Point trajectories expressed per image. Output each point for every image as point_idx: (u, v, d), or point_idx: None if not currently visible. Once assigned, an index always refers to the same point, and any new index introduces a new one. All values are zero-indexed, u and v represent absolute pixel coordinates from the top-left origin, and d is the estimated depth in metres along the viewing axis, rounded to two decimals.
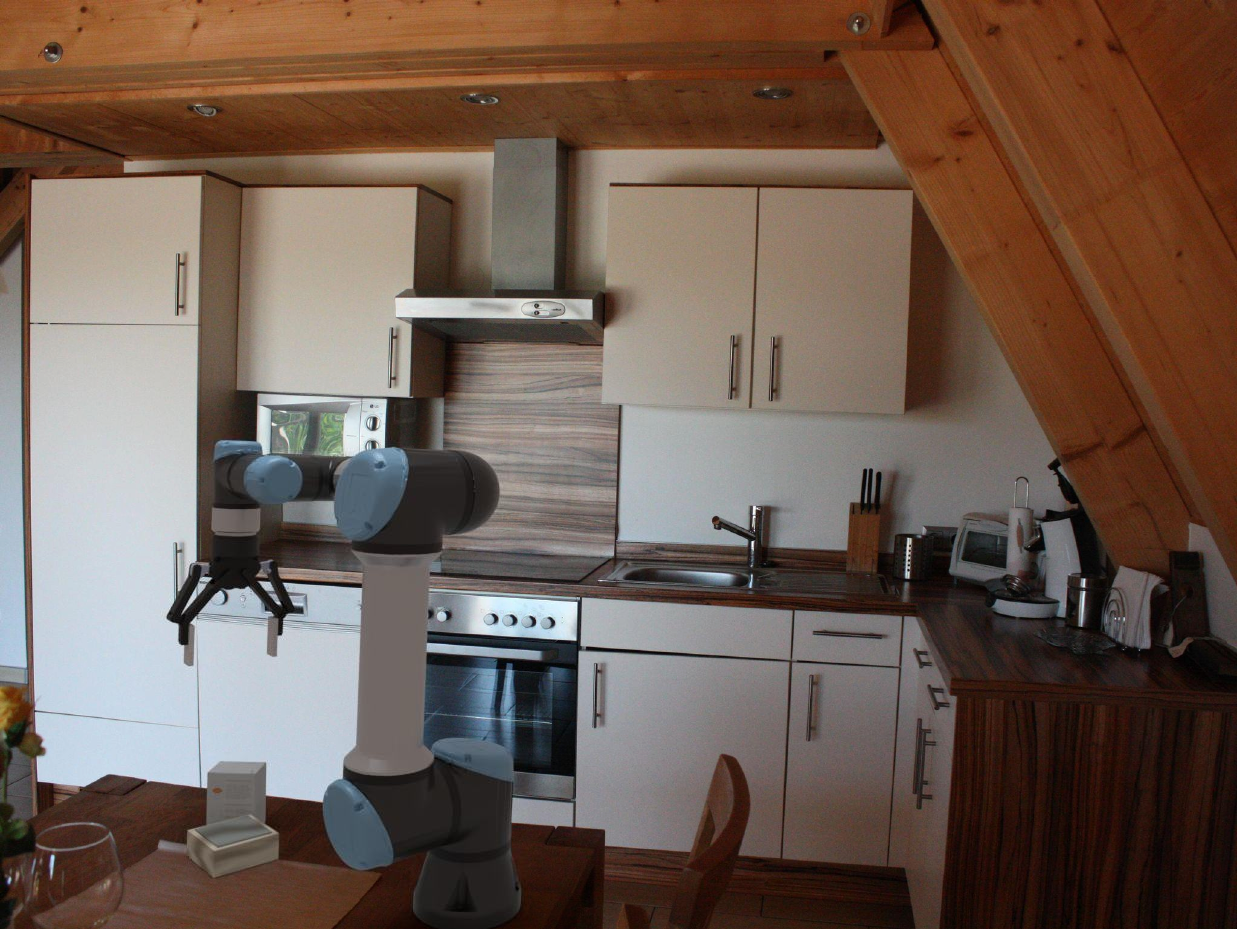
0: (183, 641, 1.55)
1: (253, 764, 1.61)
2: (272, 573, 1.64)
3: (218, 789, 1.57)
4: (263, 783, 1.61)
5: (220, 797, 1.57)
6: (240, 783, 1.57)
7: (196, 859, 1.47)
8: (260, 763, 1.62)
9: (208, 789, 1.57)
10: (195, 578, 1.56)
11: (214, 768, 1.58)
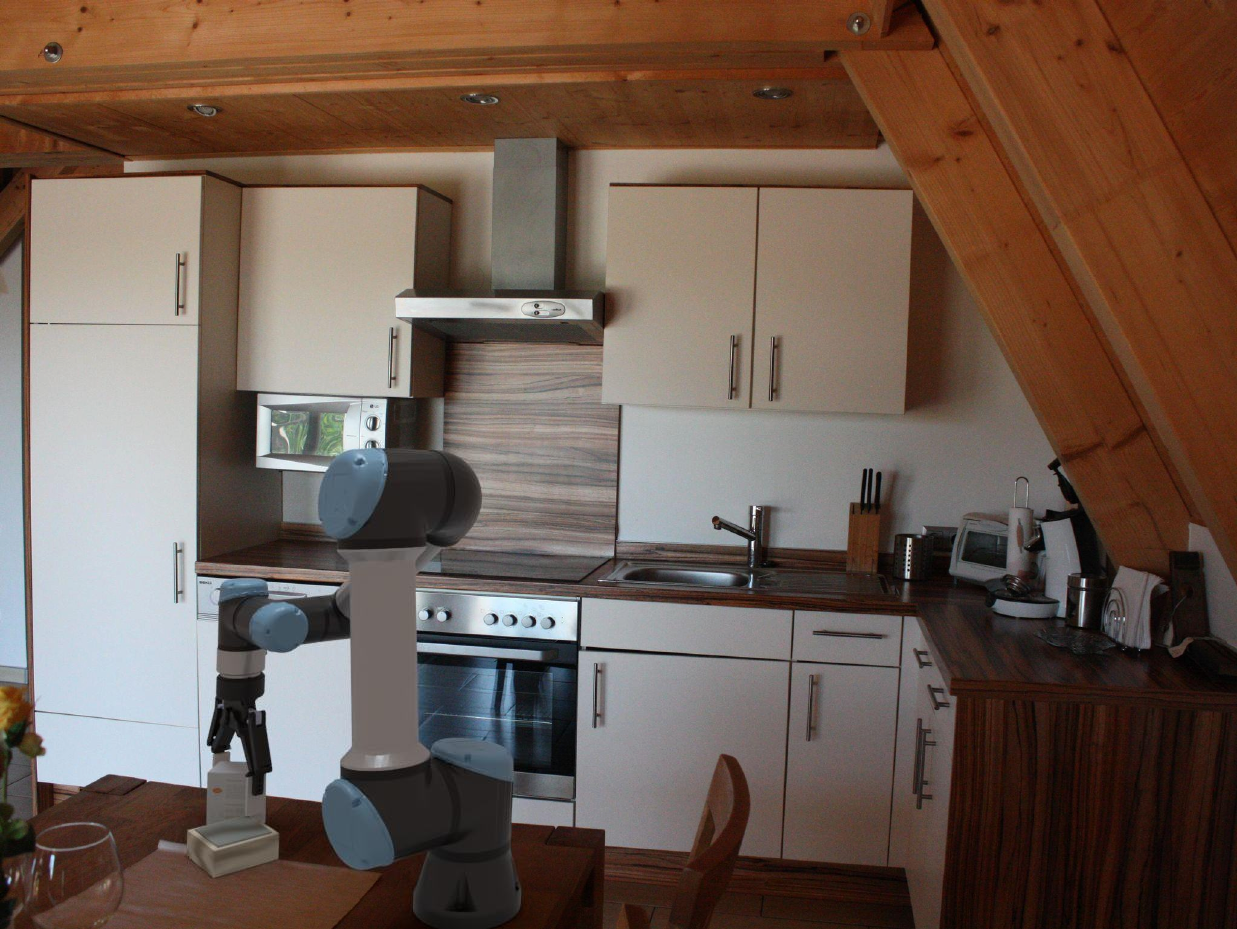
0: None
1: None
2: (248, 725, 1.54)
3: (218, 789, 1.57)
4: None
5: (220, 797, 1.57)
6: (240, 783, 1.57)
7: (196, 859, 1.47)
8: None
9: (208, 789, 1.57)
10: (215, 708, 1.63)
11: (214, 768, 1.58)
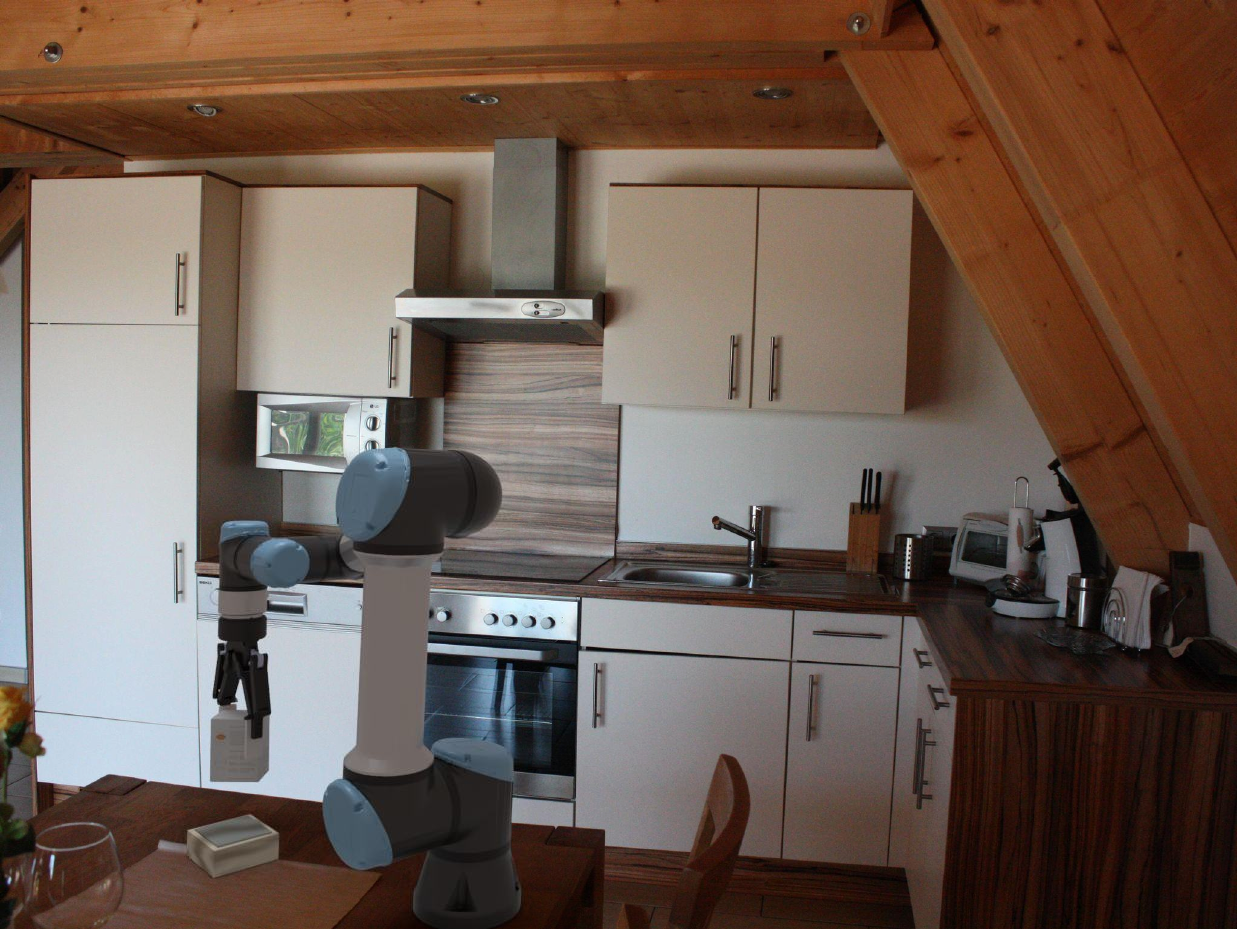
0: None
1: None
2: (250, 667, 1.54)
3: (222, 735, 1.56)
4: (267, 730, 1.61)
5: (224, 743, 1.56)
6: (244, 729, 1.57)
7: (196, 859, 1.47)
8: None
9: (212, 736, 1.56)
10: (218, 656, 1.63)
11: (217, 715, 1.58)
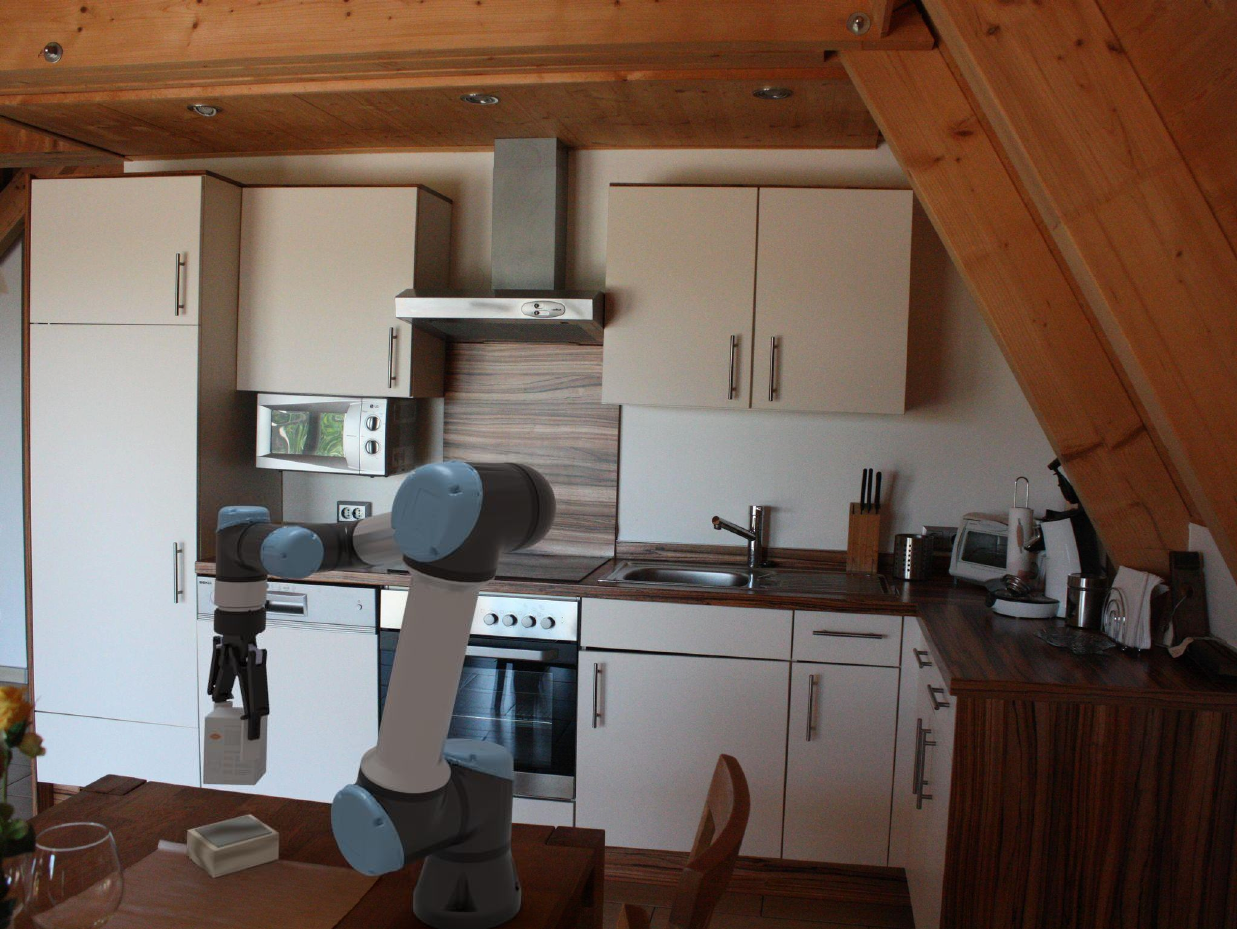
0: None
1: None
2: (247, 663, 1.44)
3: (216, 735, 1.46)
4: (264, 730, 1.50)
5: (219, 743, 1.46)
6: (240, 729, 1.46)
7: (196, 859, 1.47)
8: None
9: (205, 735, 1.46)
10: (214, 650, 1.52)
11: (212, 713, 1.48)
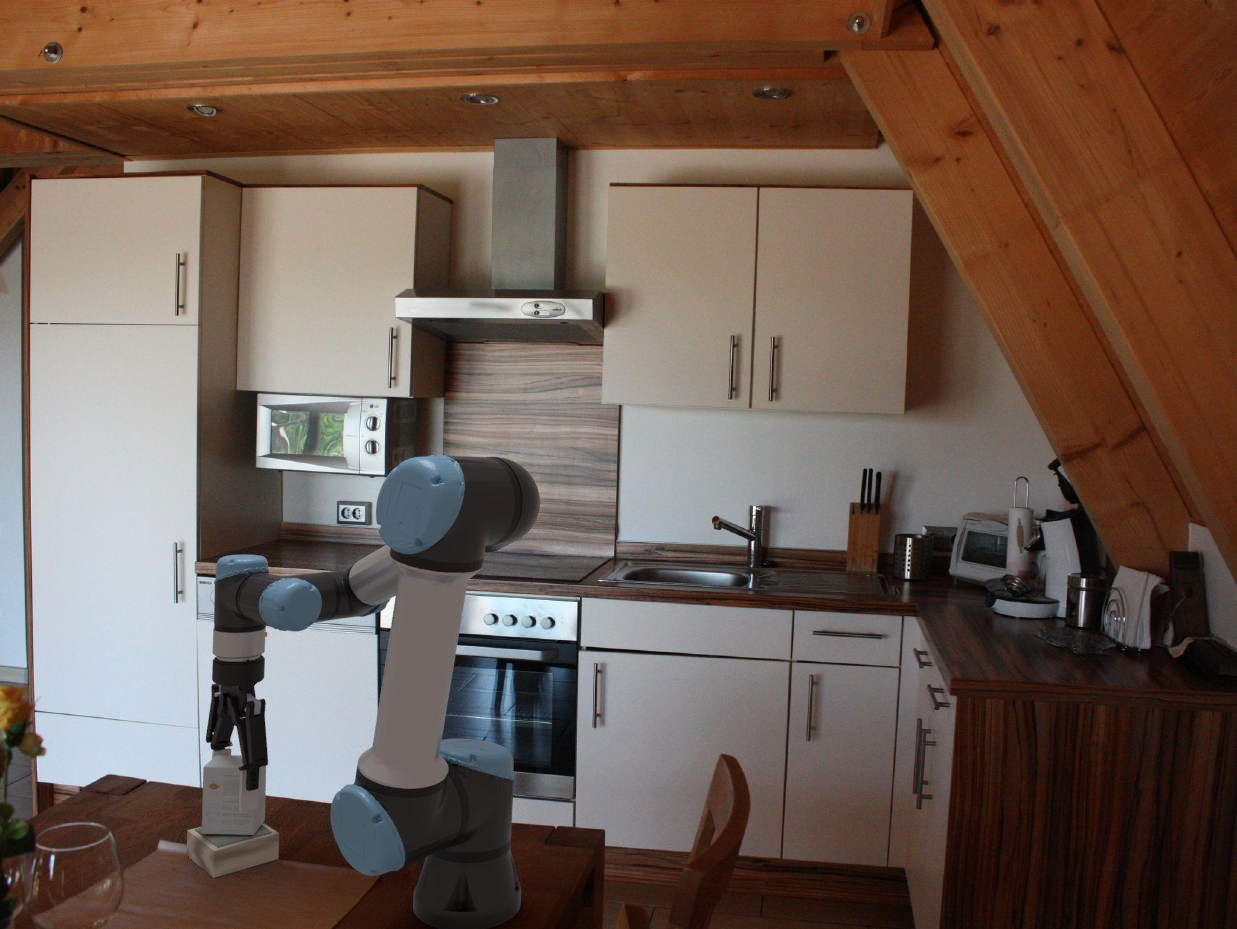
0: None
1: None
2: (246, 714, 1.44)
3: (215, 785, 1.46)
4: (263, 778, 1.50)
5: (217, 793, 1.46)
6: (238, 779, 1.46)
7: (196, 859, 1.47)
8: None
9: (204, 785, 1.46)
10: (212, 698, 1.52)
11: (210, 762, 1.48)
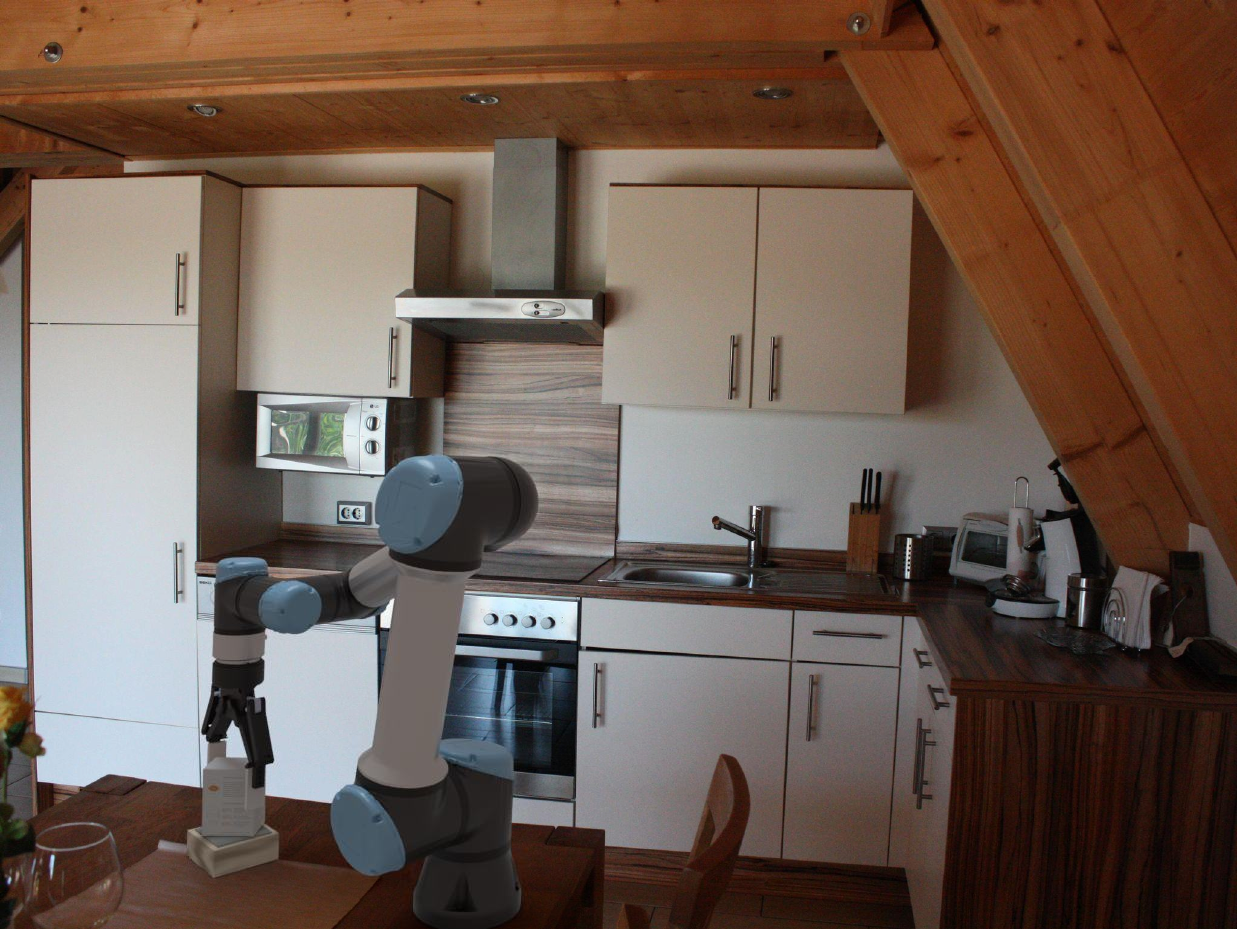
0: None
1: None
2: (247, 713, 1.44)
3: (214, 787, 1.46)
4: None
5: (217, 795, 1.46)
6: (238, 781, 1.46)
7: (196, 859, 1.47)
8: None
9: (204, 787, 1.46)
10: (211, 696, 1.52)
11: (210, 764, 1.48)
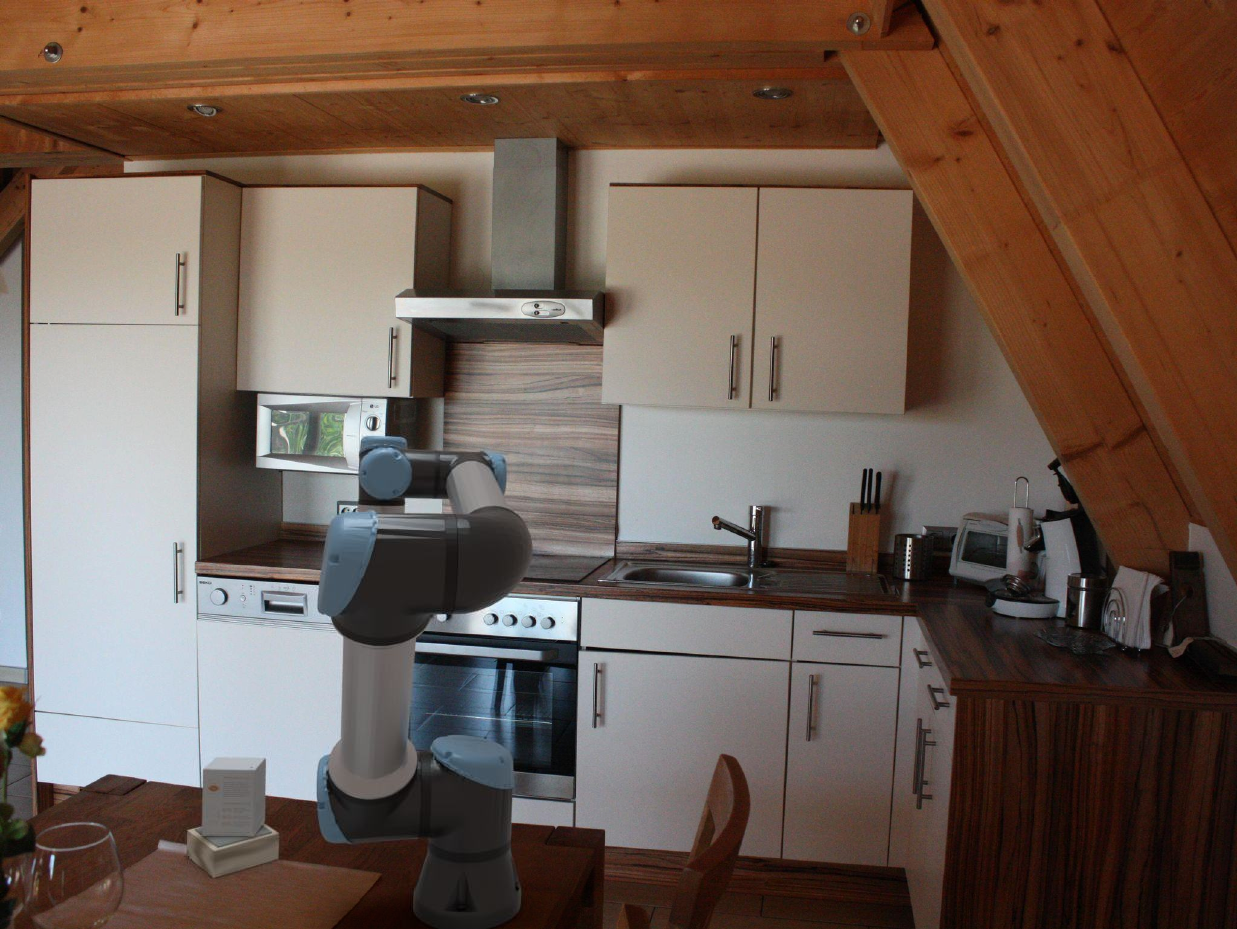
0: None
1: (252, 760, 1.50)
2: None
3: (214, 787, 1.46)
4: (263, 780, 1.50)
5: (217, 795, 1.46)
6: (238, 781, 1.46)
7: (196, 859, 1.47)
8: (259, 759, 1.51)
9: (204, 787, 1.46)
10: None
11: (210, 764, 1.48)
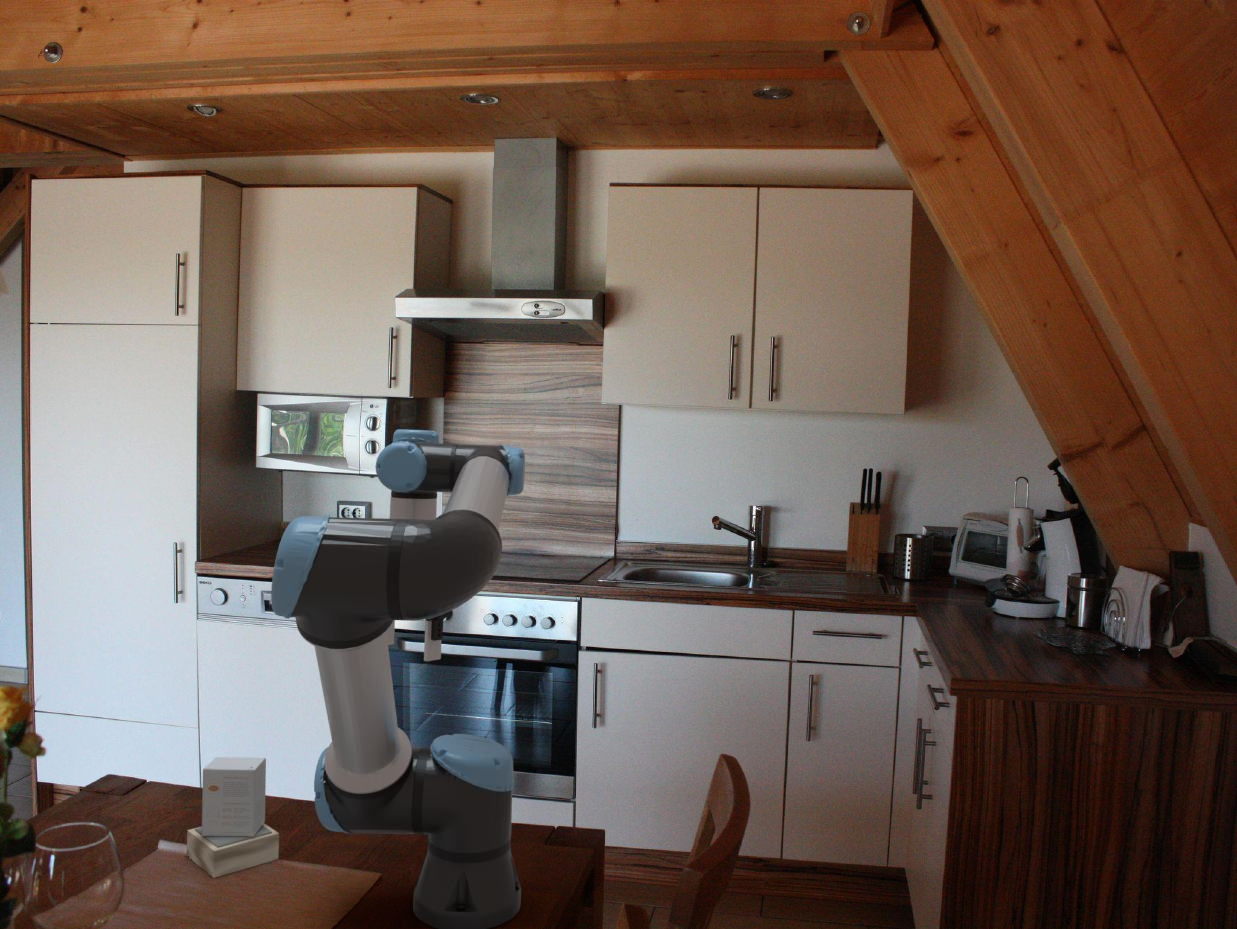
0: None
1: (252, 760, 1.50)
2: None
3: (214, 787, 1.46)
4: (263, 780, 1.50)
5: (217, 795, 1.46)
6: (238, 781, 1.46)
7: (196, 859, 1.47)
8: (259, 759, 1.51)
9: (204, 787, 1.46)
10: None
11: (210, 764, 1.48)
